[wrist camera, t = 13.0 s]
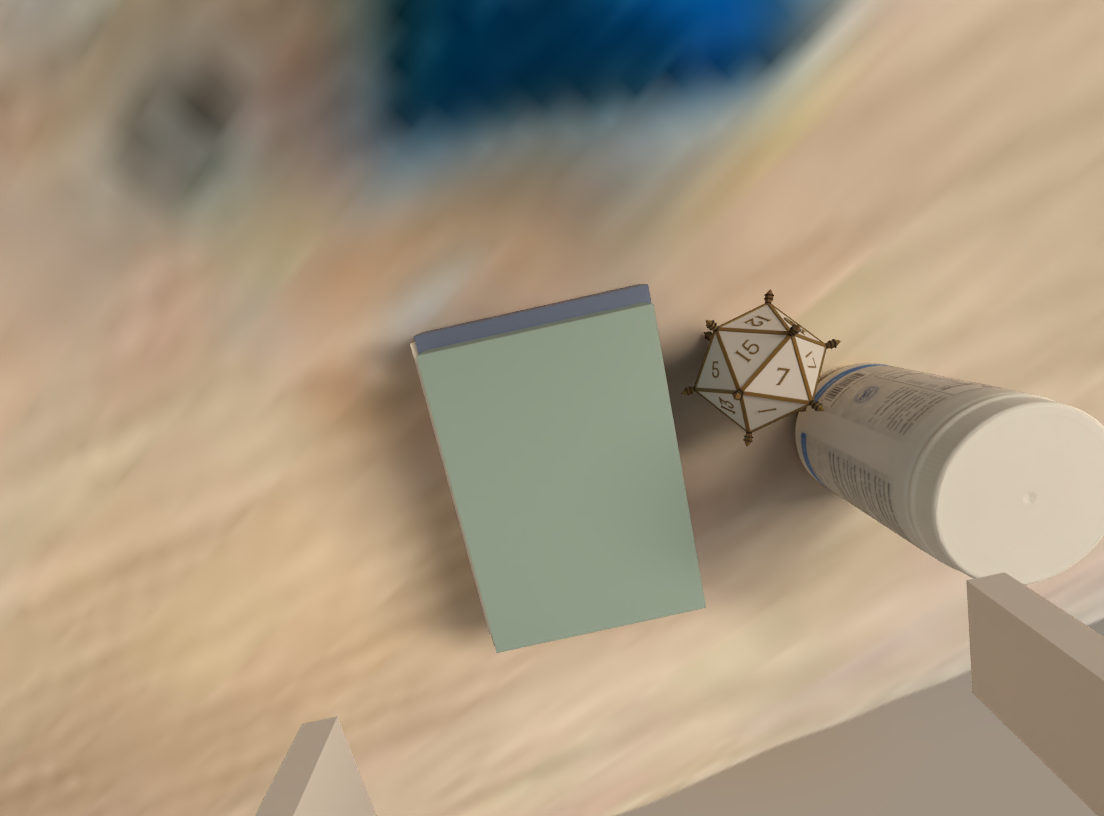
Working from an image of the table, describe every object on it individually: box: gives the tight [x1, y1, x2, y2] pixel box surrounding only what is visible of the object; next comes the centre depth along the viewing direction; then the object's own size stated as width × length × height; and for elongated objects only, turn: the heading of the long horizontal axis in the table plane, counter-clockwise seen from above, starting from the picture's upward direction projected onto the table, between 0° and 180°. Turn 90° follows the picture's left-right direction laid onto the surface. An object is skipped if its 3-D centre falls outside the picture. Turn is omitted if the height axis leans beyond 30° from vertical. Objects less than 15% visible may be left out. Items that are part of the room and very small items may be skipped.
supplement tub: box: [795, 363, 1104, 585], centre depth 34 cm, size 10×10×15 cm
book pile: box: [410, 284, 706, 653], centre depth 37 cm, size 22×15×6 cm
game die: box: [681, 289, 841, 446], centre depth 35 cm, size 9×8×10 cm
